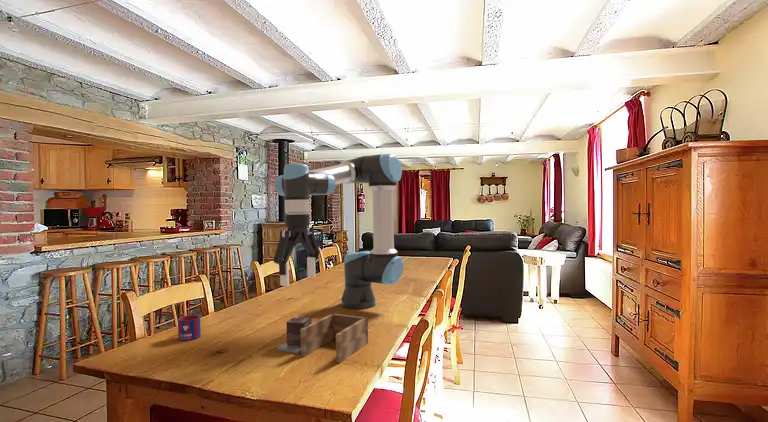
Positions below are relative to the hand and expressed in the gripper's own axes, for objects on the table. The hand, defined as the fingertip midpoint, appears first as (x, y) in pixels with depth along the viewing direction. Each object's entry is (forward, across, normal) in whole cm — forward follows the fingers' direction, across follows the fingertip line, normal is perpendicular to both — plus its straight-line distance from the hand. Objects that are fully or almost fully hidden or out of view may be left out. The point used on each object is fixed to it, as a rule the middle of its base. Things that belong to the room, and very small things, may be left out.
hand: (298, 281), depth 121 cm
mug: (+20, +7, -40) cm, 45 cm away
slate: (+20, 0, 0) cm, 20 cm away
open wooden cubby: (+20, -1, +12) cm, 24 cm away
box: (+20, 0, 0) cm, 20 cm away
